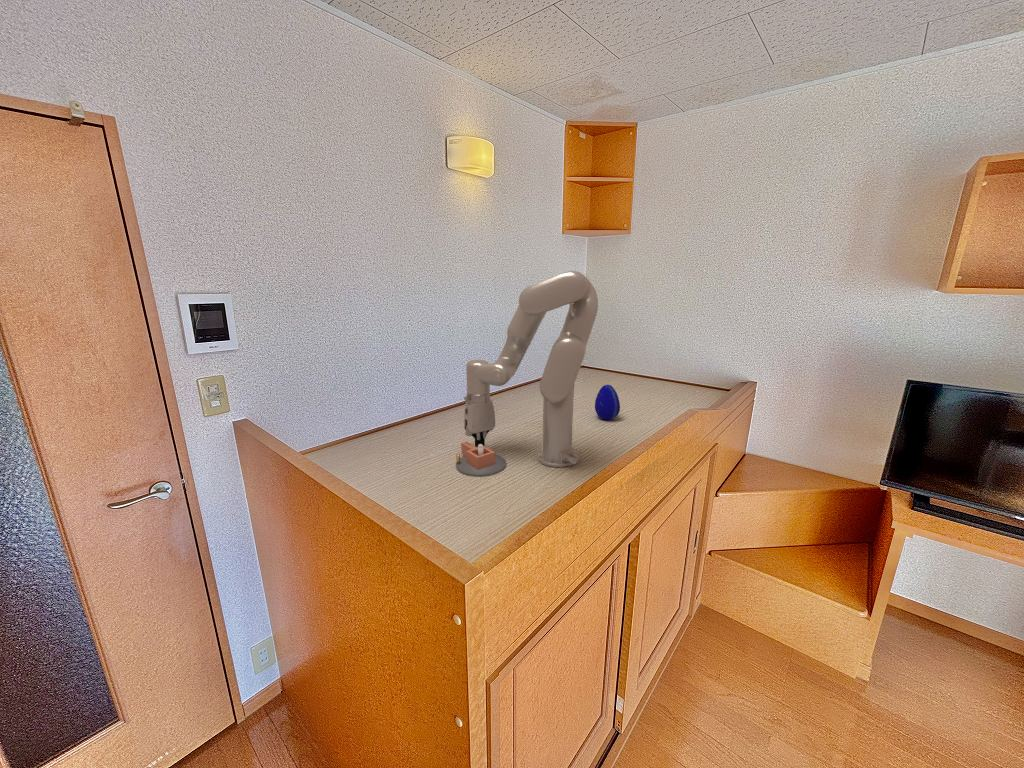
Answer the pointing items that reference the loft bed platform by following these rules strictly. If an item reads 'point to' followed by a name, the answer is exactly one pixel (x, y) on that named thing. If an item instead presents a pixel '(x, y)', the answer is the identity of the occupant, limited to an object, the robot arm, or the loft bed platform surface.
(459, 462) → the dowel pin
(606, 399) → the ornament
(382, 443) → the loft bed platform surface
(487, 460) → the orange square loop
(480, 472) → the post base
